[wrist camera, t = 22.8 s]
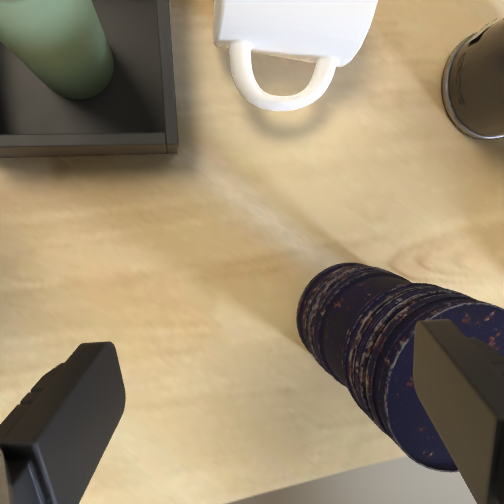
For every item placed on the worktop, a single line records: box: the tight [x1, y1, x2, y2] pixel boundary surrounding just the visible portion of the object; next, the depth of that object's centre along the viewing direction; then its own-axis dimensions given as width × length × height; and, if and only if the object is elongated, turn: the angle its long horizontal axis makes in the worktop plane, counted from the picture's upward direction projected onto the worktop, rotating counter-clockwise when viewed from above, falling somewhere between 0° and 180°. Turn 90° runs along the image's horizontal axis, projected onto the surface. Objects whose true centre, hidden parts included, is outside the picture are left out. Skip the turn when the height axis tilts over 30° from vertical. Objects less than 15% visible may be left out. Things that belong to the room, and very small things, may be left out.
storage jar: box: [297, 263, 504, 472], centre depth 29 cm, size 10×10×15 cm
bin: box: [0, 0, 178, 158], centre depth 27 cm, size 14×14×5 cm
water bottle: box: [0, 0, 114, 100], centre depth 21 cm, size 5×5×15 cm
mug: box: [213, 0, 378, 111], centre depth 28 cm, size 12×10×8 cm
